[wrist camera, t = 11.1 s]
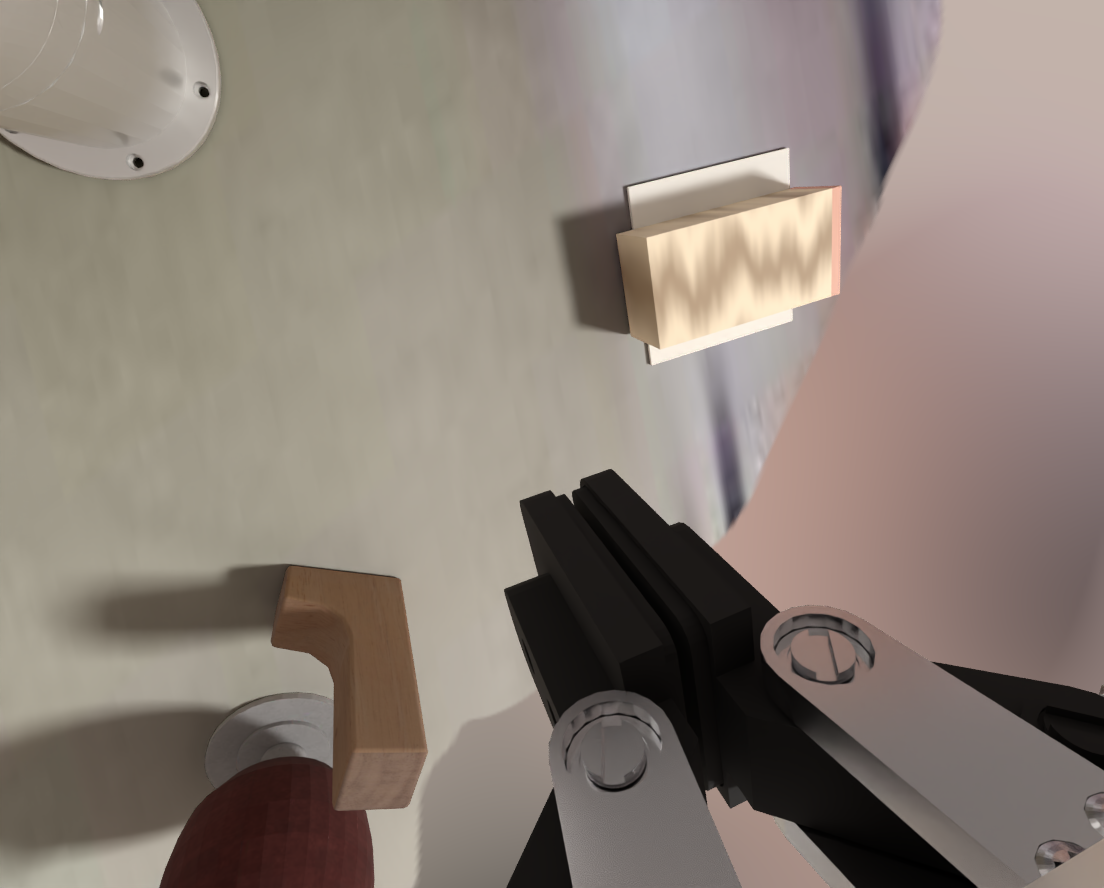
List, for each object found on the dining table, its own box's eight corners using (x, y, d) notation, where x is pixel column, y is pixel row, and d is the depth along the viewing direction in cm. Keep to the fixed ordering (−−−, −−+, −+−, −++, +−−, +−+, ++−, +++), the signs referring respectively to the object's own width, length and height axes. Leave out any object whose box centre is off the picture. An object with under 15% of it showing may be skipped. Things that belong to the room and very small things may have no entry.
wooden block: (275, 611, 47) (242, 818, 31) (287, 562, 46) (259, 753, 30) (388, 620, 51) (409, 811, 35) (402, 576, 49) (430, 752, 34)
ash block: (646, 237, 40) (841, 185, 43) (616, 234, 44) (795, 187, 47) (660, 349, 43) (839, 293, 47) (630, 335, 48) (796, 285, 51)
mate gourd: (208, 683, 47) (129, 966, 30) (382, 686, 53) (402, 926, 35) (181, 825, 52) (100, 1147, 34) (346, 814, 57) (348, 1085, 40)
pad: (626, 187, 43) (628, 187, 43) (786, 148, 46) (789, 147, 46) (650, 364, 50) (651, 365, 49) (790, 320, 52) (792, 320, 52)
